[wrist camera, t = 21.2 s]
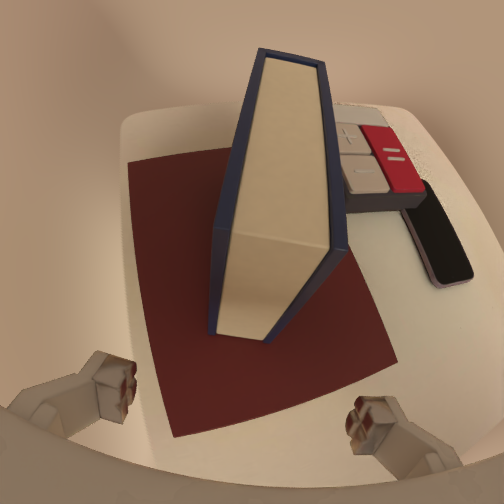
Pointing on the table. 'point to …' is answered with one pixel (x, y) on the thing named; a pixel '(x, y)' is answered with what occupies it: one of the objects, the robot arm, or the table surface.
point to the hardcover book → (277, 201)
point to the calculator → (374, 163)
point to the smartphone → (438, 242)
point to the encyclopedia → (225, 346)
